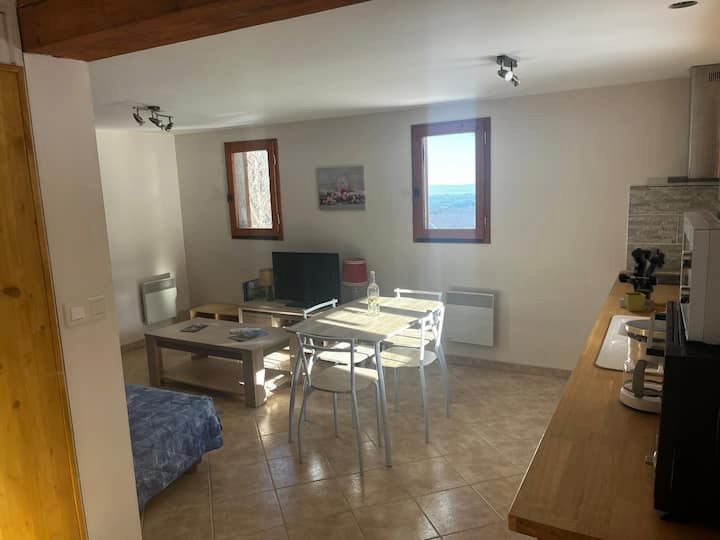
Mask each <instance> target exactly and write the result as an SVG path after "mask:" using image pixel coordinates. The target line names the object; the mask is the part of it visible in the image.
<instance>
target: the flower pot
mask: <svg viewBox="0 0 720 540" xmlns="http://www.w3.org/2000/svg"><path fill="white" fill-rule="evenodd" d="M645 297H646V296H645V295H644V294H642V293H639V292H634V291H632V292H631V291H630V292H629V291H628V292H627V291H625V292H623V298H624V303H625V306H626V308H625V309H627V310H628V311H629V312H641V310H642V309H643V306H644V302H645Z"/></svg>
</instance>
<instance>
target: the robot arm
mask: <svg viewBox="0 0 720 540" xmlns="http://www.w3.org/2000/svg"><path fill="white" fill-rule="evenodd" d="M630 255H631V258H632V261H633V262H634V263H635V265H634V267H633V273H632V275H630V276H629V275H628V273H624V272H623V273H622V272H621V273H619V274H618V277H617V278H618V282H619V283H622V284H626V283H628V281H629V284H630V285H632V286H633V292H639V293H642V294H644V295H645V296H646V297H645V299H648V300H651V297H652V295H651V294H652V293H654V290H655V289H654V286H656V287H657V286H658V284H659V280H658V276H657V275H656V273H657V271H658V270H659V269H662V268H663V267H664V266H666V264H667V257H666V254H664V253H663V252H662V251H661V249H660V248H656V247H655V248H653V247H652V248H647V249H642V247H637V248H636V249H634V250H633V251H632V252H631V254H630ZM648 262H649V263H648ZM648 264H649V266H648Z"/></svg>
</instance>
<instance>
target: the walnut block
mask: <svg viewBox="0 0 720 540" xmlns="http://www.w3.org/2000/svg"><path fill="white" fill-rule="evenodd" d="M643 308H645V309H644V310H653V309H654V308H655V300H653V299H650V300H648V299H645V302H644V306H643ZM643 308H642V309H643Z"/></svg>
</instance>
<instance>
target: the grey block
mask: <svg viewBox="0 0 720 540" xmlns="http://www.w3.org/2000/svg"><path fill="white" fill-rule="evenodd" d="M619 301H620V302H619V308H620V307H624V308H623V309H627V308H626V306H625V303H624V297H621V298H620V299H619Z"/></svg>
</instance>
